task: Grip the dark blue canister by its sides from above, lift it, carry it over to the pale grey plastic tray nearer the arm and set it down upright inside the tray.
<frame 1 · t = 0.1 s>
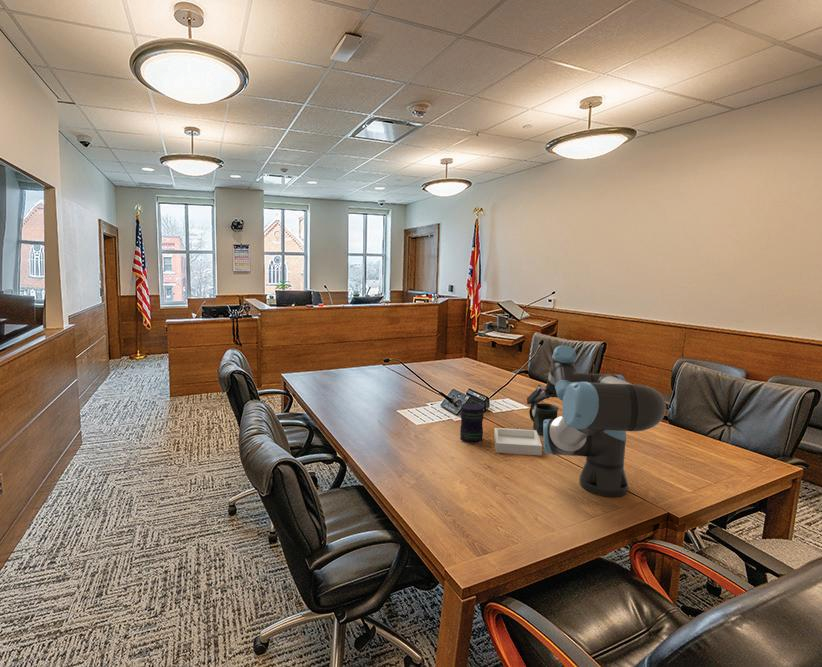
hand: (550, 414, 176), 15 cm above the table, tool tilted 35°, fingers open, 13 cm apart
dark blue canister: (471, 439, 190), on the table
tray: (516, 445, 183), on the table
mug: (541, 431, 201), on the table
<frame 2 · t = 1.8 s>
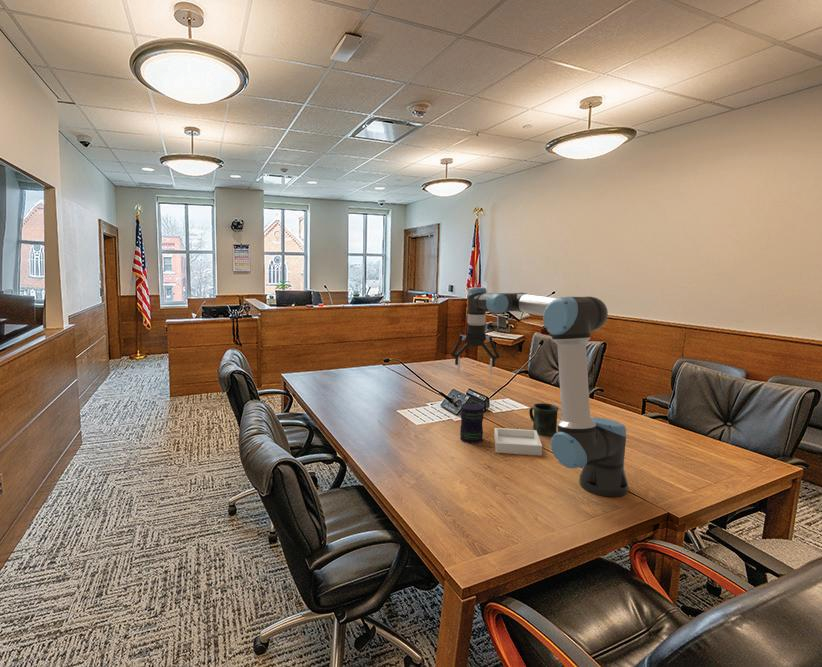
hand: (474, 373, 186), 29 cm above the table, tool pointing down, fingers open, 13 cm apart
nothing on the table moved.
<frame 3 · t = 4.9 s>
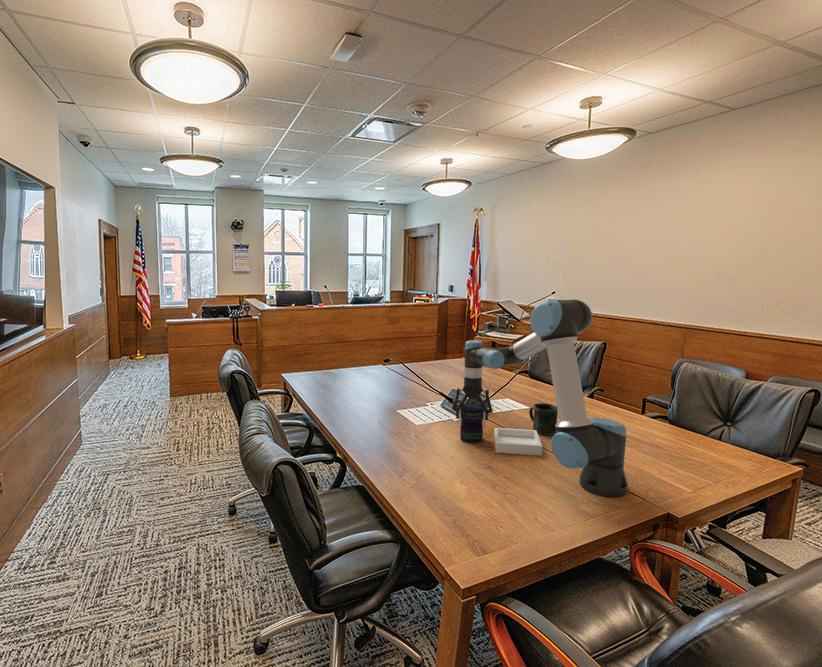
hand: (471, 426, 189), 6 cm above the table, tool pointing down, fingers closed on dark blue canister, 10 cm apart
dark blue canister: (471, 439, 190), on the table, touching gripper
everything else where it was.
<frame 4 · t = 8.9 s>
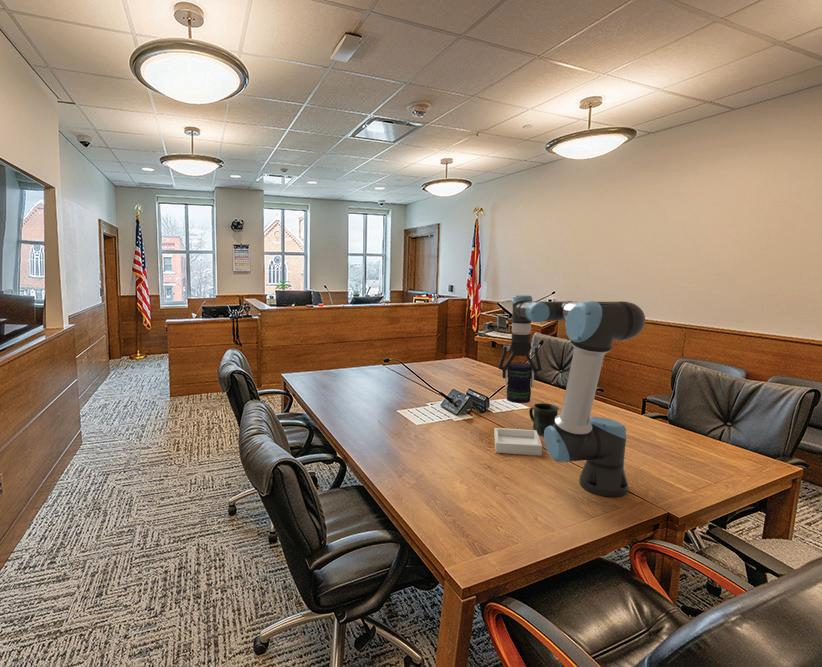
hand: (518, 386, 180), 25 cm above the table, tool pointing down, fingers closed on dark blue canister, 10 cm apart
dark blue canister: (518, 400, 181), point 20 cm above the table, touching gripper
everything else where it was.
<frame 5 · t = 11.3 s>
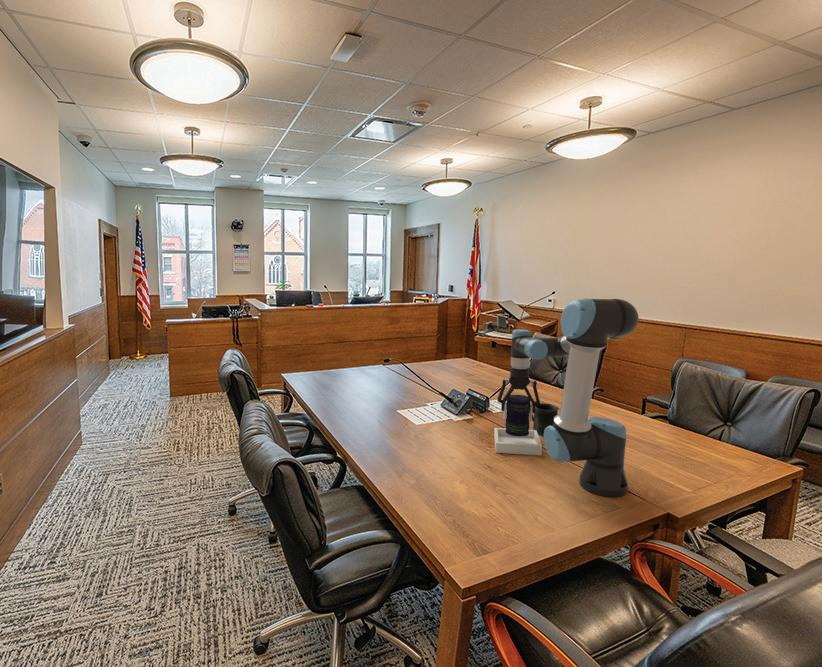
hand: (517, 419, 182), 11 cm above the table, tool pointing down, fingers closed on dark blue canister, 10 cm apart
dark blue canister: (517, 432, 183), point 6 cm above the table, touching gripper
everything else where it was.
when the fingers open (8 cm above the table, at t = 13.0 s): dark blue canister drops 1 cm, resting on tray.
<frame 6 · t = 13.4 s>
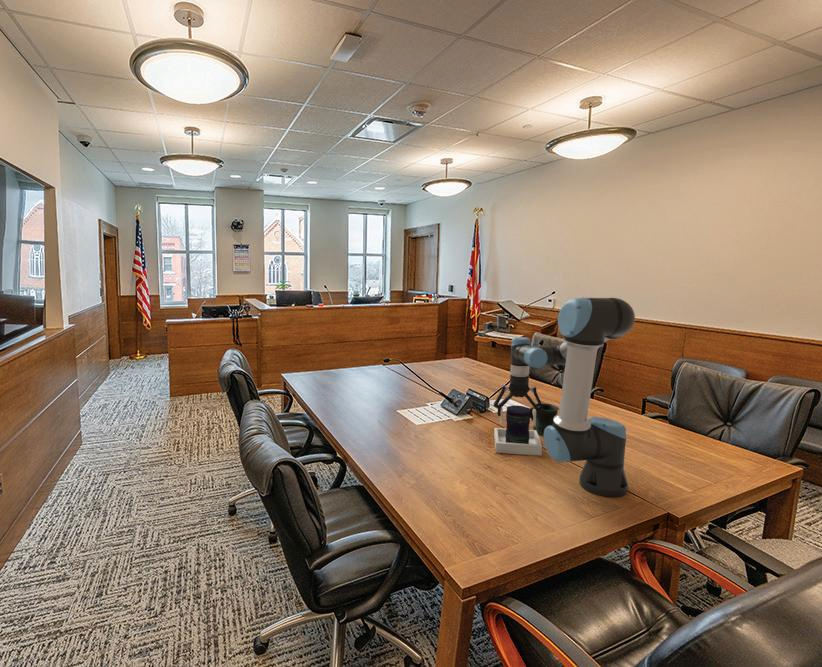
hand: (517, 424, 182), 9 cm above the table, tool pointing down, fingers open, 13 cm apart
dark blue canister: (517, 443, 183), point 1 cm above the table, touching tray
everything else where it was.
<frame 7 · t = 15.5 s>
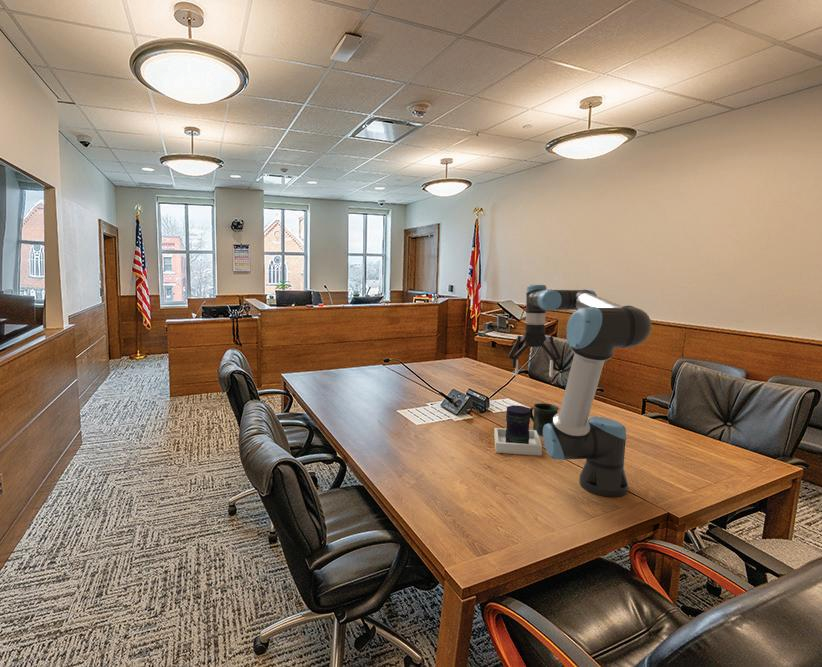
hand: (533, 376, 175), 31 cm above the table, tool pointing down, fingers open, 13 cm apart
nothing on the table moved.
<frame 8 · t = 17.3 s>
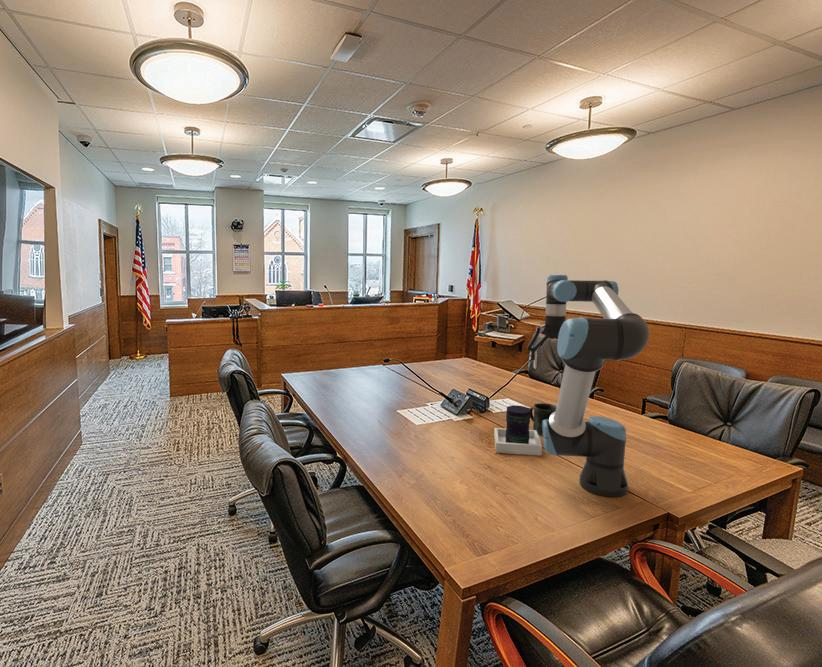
hand: (552, 368, 171), 35 cm above the table, tool pointing down, fingers open, 13 cm apart
nothing on the table moved.
at the end: dark blue canister inside the target area on the tray (0.1 cm from its centre), point 0.8 cm above the tray's base; dark blue canister tilted 0°; the gripper is holding nothing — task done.
